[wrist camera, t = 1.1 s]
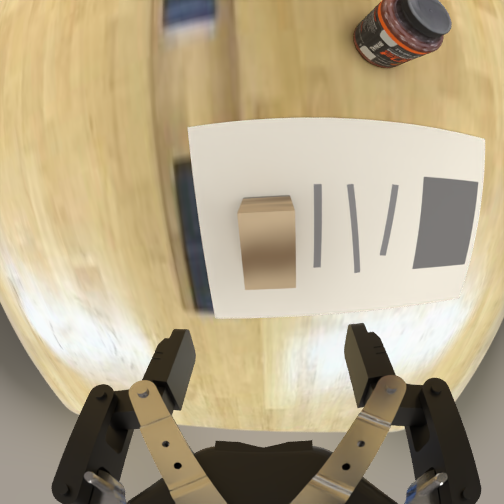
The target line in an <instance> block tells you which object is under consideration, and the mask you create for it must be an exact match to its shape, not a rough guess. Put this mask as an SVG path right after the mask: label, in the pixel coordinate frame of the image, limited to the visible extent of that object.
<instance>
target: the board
mask: <svg viewBox="0 0 504 504" xmlns="http://www.w3.org/2000/svg"><path fill="white" fill-rule="evenodd" d="M188 136H189V146H190V155H191V163H192V172H193V180H194V188H195V195H196V203H197V210H198V217H199V224H200V231H201V237H202V244H203V250H204V256H205V262H206V268H207V274H208V280H209V286H210V291H211V297H212V302H213V308H214V313H215V318H269V317H293V316H311V315H326V314H339V313H350V312H361V311H371V310H381V309H389V308H398V307H405V306H413V305H420V304H427V303H434V302H440V301H446V300H452V299H458V298H460V295H461V291H462V288H463V285H464V282H465V278H466V275H467V271H468V267H469V263H470V259H471V255H472V251H473V246H474V242H475V237H476V231H477V226H478V220H479V214H480V207H481V199H482V190H483V179H484V163H485V139H483V138H479V137H475V136H471V135H467V134H462V133H458V132H453V131H448V130H443V129H438V128H432V127H426V126H420V125H413V124H406V123H398V122H389V121H378V120H366V119H350V118H273V119H257V120H244V121H233V122H224V123H215V124H207V125H200V126H193V127H188ZM279 195H290V197H291V200H292V203H293V206H294V209H295V232H296V288H285V289H260V290H245V285H244V276H243V266H242V257H241V247H240V237H239V227H238V217H237V213H238V210H239V208H240V205H241V202H242V200H243V198H244V197H260V196H279Z"/></svg>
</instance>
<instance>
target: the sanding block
mask: <svg viewBox="0 0 504 504" xmlns="http://www.w3.org/2000/svg"><path fill="white" fill-rule="evenodd" d="M237 217H238V227H239V237H240V247H241V257H242V266H243V276H244V285H245V290H260V289H285V288H296V232H295V209H294V206H293V203H292V200H291V197H290V195H279V196H260V197H244V198H243V200H242V202H241V205H240V208H239V210H238V213H237Z"/></svg>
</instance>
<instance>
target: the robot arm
mask: <svg viewBox="0 0 504 504" xmlns="http://www.w3.org/2000/svg"><path fill="white" fill-rule="evenodd" d="M344 354H345V360H346V363H347V367H348V371H349V375H350V379H351V383H352V387H353V391H354V395H355V399H356V403H357V408H360V407H364V408H363V410H362V411H361V413H359V415H358V416H357V418H356V419H355V421H354V422H353V424H352V425H351V427H350V429H349V430H348V432H347V433H346V435H345V436H344V438H343V439H342V441H341V442H340V443H339V445H338V446H337V448H336V449H335V451H334V452H331V451H329V450H327V449H324V448H321V447H316V446H312V440H311V441H297V442H286V443H282V444H279V445H274V446H270V447H265V448H262V447H257V446H253V445H249V444H245V443H241V442H226V441H216V443H215V447H210V448H205V449H202V450H200V451H198V452H196V453H194V452H193V451H192V450H191V448H190V446H189V445H188V443H187V442H186V440H185V438H184V436H183V435H182V433H181V431H180V429H179V428H178V426H177V424H176V422H175V421H174V419H173V417H172V413H173V410H180V411H181V409H182V405H183V401H184V398H185V394H186V391H187V387H188V384H189V381H190V377H191V374H192V370H193V367H194V364H195V358H196V354H195V349H194V345H193V342H192V338H191V335H190V332H189V330H187V329H174V330H173V332H172V334H171V336H170V338H165V339H164V340H162V341H161V342H160V343H159V344H158V346H157V348H156V350H155V353H154V355H153V357H152V359H151V361H150V364H149V366H148V368H147V370H146V373H145V375H144V377H143V379H142V381H138V382H136V383H134V384H133V385H132V386H131V388H130V389H129V390H122V391H113V389H112V388H111V387H110V386H108V385H105V384H102V385H98V386H96V387H94V388H93V389H92V390H91V392H90V393H89V396H88V398H87V400H86V402H85V404H84V406H83V408H82V411H81V413H80V415H79V417H78V420H77V422H76V424H75V427H74V429H73V431H72V433H71V436H70V438H69V441H68V443H67V446H66V448H65V451H64V453H63V456H62V458H61V461H60V464H59V467H58V469H57V472H56V475H55V477H54V481H53V483H52V493H53V496H54V497H55V499H57V501H59V502H61V503H62V504H398V503H397V502H395V501H394V500H393V499H391V498H390V497H388V496H387V495H386V494H384V493H383V492H382V491H380V490H379V489H378V488H376V487H375V486H374V485H373V484H371V483H370V482H369V481H367V480H366V479H365V478H364V477H363V475H364V474H365V472H366V470H367V469H368V467H369V465H370V463H371V462H372V460H373V459H374V457H375V455H376V453H377V452H378V450H379V448H380V446H381V444H382V442H383V441H384V439H385V437H386V435H387V433H388V431H389V429H390V427H391V425H396V426H405V430H406V435H407V439H408V444H409V448H410V453H411V458H412V463H413V469H414V474H415V480H416V481H415V482H413V483H412V484H411V485H410V486H409V488H408V490H407V493H406V501H405V503H404V504H475V503H476V502H477V500H478V499H479V497H480V494H481V485H480V480H479V476H478V472H477V468H476V464H475V461H474V457H473V454H472V450H471V447H470V444H469V441H468V438H467V435H466V431H465V429H464V426H463V423H462V420H461V417H460V415H459V412H458V409H457V407H456V404H455V402H454V399H453V397H452V394H451V392H450V389H449V387H448V385H447V384H446V382H445V381H443V380H442V379H439V378H431V379H428V380H427V381H426V382H425V383H424V385H411V384H406V383H405V382H404V380H403V379H402V378H400V377H398V376H396V375H395V372H394V370H393V367H392V365H391V363H390V360H389V358H388V355H387V353H386V351H385V348H384V347H383V344H382V341H381V339H380V338H379V337H378V336H377V335H376V334H375V333H374V332H369V333H368V332H367V330H366V327H365V325H364V323H359V324H349V325H348V329H347V335H346V341H345V347H344ZM134 429H140V431H141V433H142V435H143V438H144V440H145V442H146V444H147V447H148V449H149V451H150V453H151V455H152V457H153V459H154V462H155V464H156V465H157V467H158V469H159V471H160V473H161V475H162V477H163V478H161V479H160V480H158V481H157V482H156V483H154V484H153V485H152V486H150V487H149V488H147V489H146V490H144V491H143V492H141V493H140V494H138V495H137V496H135V497H134V498H132V499H131V500H129V501H128V502H126V499H125V489H124V486H123V485H122V484H121V483H120V482H119V480H120V477H121V473H122V470H123V466H124V462H125V458H126V455H127V451H128V448H129V444H130V441H131V438H132V434H133V431H134Z"/></svg>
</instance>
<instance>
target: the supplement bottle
mask: <svg viewBox="0 0 504 504" xmlns="http://www.w3.org/2000/svg"><path fill="white" fill-rule="evenodd" d="M450 29H451V19H450V16H449V14H448V12H447V10H446V9H445V7H444V6H443V5H442V4H441V3H440V2H439V1H438V0H382V1H381V2H380V3H379V4H378V5H377V6H376V7H375V8H374V9H373V10H372V11H371V12H370V13H369V14H368V15H367V16H366V17H365V18H364V19H363V20H362V21H361V22H360V24H359V25H358V26H357V27H356V29H355V31H354V43H355V46H356V48H357V50H358V51H359V53H360V54H361V55H362V56H363V57H364V58H365V59H366V60H367V61H368V62H370V63H372V64H374V65H376V66H379V67H383V68H391V67H395V66H398V65H400V64H403V63H405V62H407V61H410V60H412V59H415V58H417V57H420V56H423V55H425V54H428V53H430V52H433V51H435V50H437V49H438V48H439V47H440V46H441V44H442V42H443V35H444V34H446V33H448V32H449V31H450Z"/></svg>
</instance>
